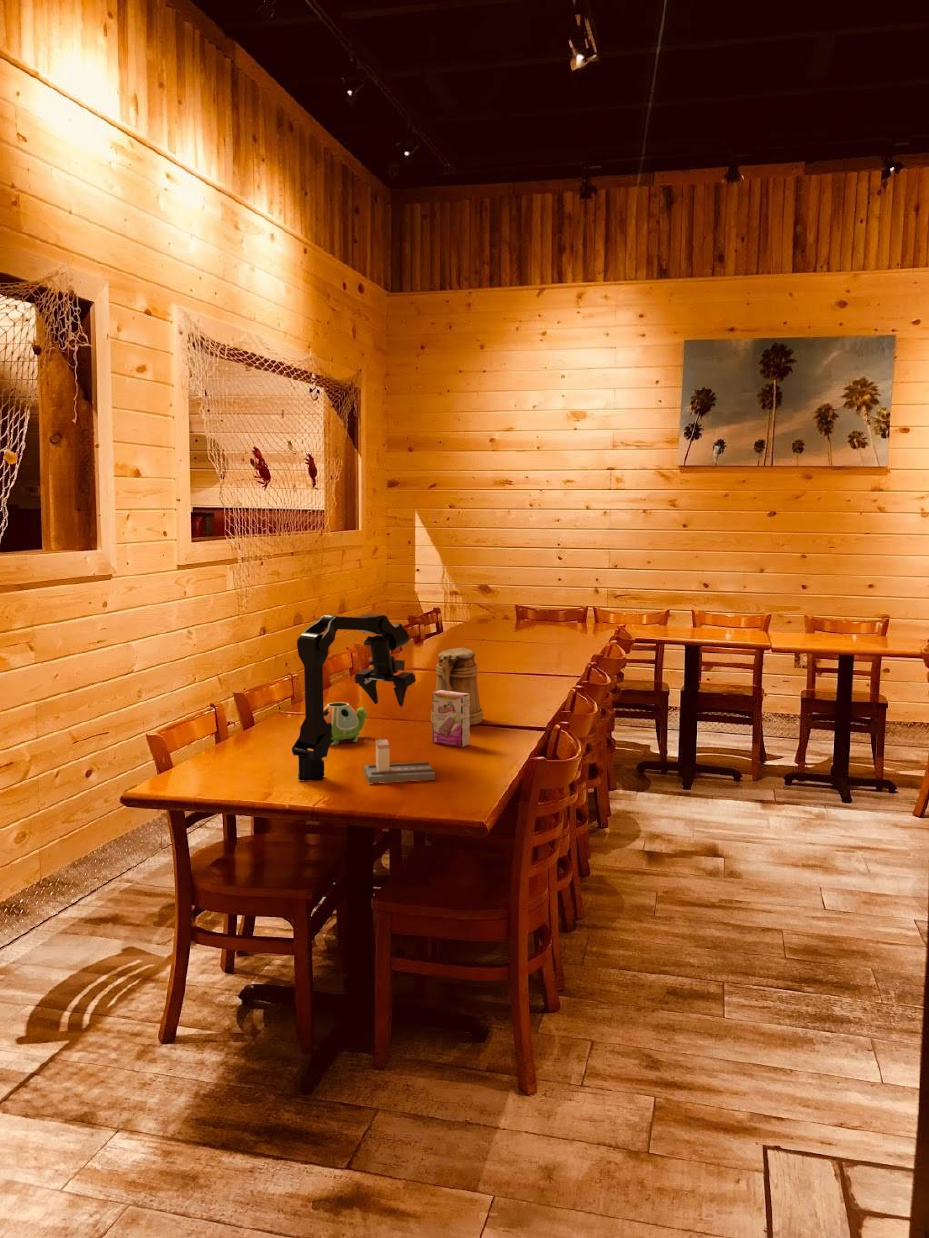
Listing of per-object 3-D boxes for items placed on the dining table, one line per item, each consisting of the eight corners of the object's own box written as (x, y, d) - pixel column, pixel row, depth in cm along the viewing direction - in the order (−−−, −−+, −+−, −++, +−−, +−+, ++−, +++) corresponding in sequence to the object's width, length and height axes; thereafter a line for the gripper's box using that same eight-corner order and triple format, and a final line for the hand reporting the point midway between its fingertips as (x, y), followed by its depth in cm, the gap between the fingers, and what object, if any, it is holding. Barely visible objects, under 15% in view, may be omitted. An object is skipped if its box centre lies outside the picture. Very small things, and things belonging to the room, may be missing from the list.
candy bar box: (431, 743, 306) (431, 692, 304) (440, 740, 311) (440, 689, 309) (462, 748, 301) (462, 695, 299) (470, 744, 305) (470, 692, 303)
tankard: (488, 717, 344) (488, 647, 342) (472, 732, 322) (472, 657, 319) (438, 714, 349) (438, 645, 346) (420, 729, 326) (419, 655, 323)
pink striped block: (378, 772, 265) (378, 745, 264) (375, 766, 271) (375, 739, 270) (389, 771, 266) (389, 744, 265) (386, 765, 271) (386, 739, 271)
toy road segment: (368, 784, 262) (368, 774, 261) (364, 772, 273) (364, 763, 273) (434, 780, 265) (434, 771, 265) (427, 768, 277) (427, 759, 277)
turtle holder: (378, 738, 313) (378, 702, 311) (332, 748, 300) (331, 710, 299) (355, 732, 322) (355, 696, 320) (309, 741, 309) (308, 704, 308)
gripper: (422, 648, 288) (429, 697, 292) (371, 644, 298) (379, 692, 302) (400, 661, 279) (408, 711, 283) (349, 657, 289) (357, 705, 293)
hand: (388, 704), depth 291 cm, fingers open, 9 cm apart
